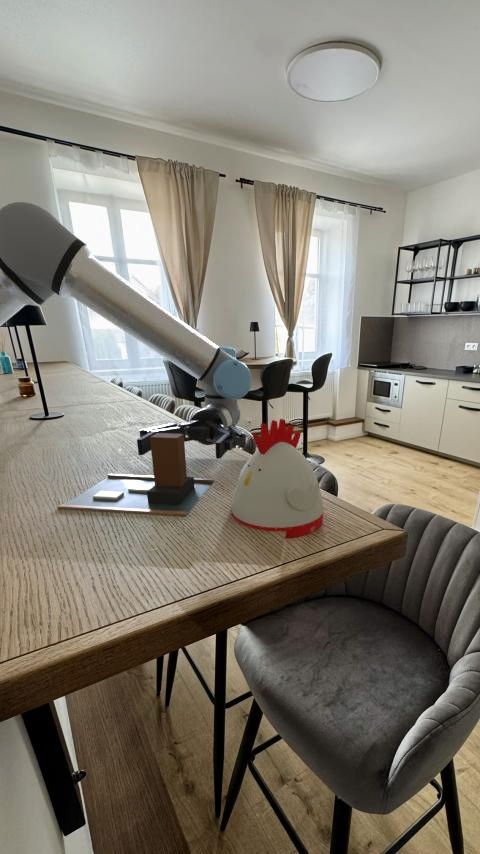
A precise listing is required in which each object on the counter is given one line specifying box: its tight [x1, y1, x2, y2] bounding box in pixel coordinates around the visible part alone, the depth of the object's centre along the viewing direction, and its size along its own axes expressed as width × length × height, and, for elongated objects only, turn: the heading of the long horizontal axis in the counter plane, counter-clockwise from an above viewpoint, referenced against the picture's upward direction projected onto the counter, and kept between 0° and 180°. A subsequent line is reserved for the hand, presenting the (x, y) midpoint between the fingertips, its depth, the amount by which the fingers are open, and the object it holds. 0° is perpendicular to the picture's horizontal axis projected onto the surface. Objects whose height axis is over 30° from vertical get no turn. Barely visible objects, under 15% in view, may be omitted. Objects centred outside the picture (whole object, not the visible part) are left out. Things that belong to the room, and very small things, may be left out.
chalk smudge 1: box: [93, 491, 124, 500], centre depth 67 cm, size 4×2×1 cm, turn 84°
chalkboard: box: [57, 473, 215, 517], centre depth 69 cm, size 20×16×2 cm
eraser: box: [147, 433, 195, 505], centre depth 66 cm, size 8×5×10 cm, turn 174°
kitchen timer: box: [231, 418, 324, 539], centre depth 60 cm, size 14×14×15 cm
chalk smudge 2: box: [128, 484, 154, 492], centre depth 70 cm, size 4×2×1 cm, turn 84°
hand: (178, 449), depth 69 cm, fingers open, 13 cm apart
